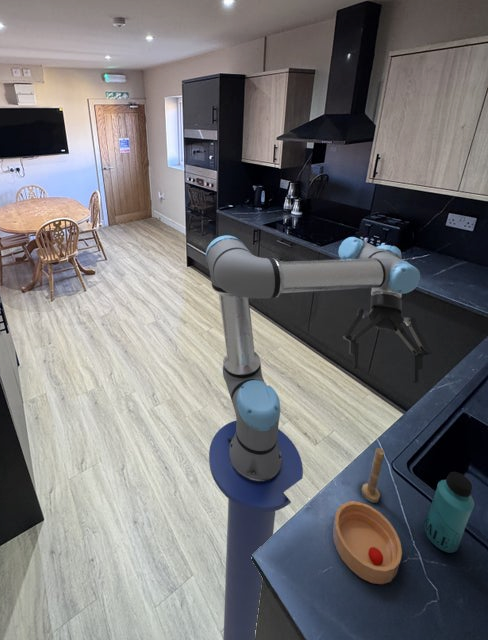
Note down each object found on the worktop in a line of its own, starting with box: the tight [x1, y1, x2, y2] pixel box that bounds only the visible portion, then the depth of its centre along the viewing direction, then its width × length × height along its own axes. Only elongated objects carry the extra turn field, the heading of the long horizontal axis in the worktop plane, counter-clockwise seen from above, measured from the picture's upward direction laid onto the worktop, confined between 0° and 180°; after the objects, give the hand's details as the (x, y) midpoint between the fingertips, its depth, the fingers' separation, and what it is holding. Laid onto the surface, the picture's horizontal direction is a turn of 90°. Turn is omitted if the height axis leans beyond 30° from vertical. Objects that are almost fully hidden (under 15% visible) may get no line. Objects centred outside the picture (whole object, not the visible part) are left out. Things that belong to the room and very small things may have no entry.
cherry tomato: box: [368, 547, 383, 565], centre depth 70 cm, size 3×3×3 cm
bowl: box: [332, 500, 403, 585], centre depth 72 cm, size 13×13×5 cm
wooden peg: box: [361, 447, 385, 504], centre depth 81 cm, size 4×4×15 cm
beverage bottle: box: [424, 471, 475, 554], centre depth 71 cm, size 6×7×20 cm
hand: (384, 374), depth 84 cm, fingers open, 13 cm apart
